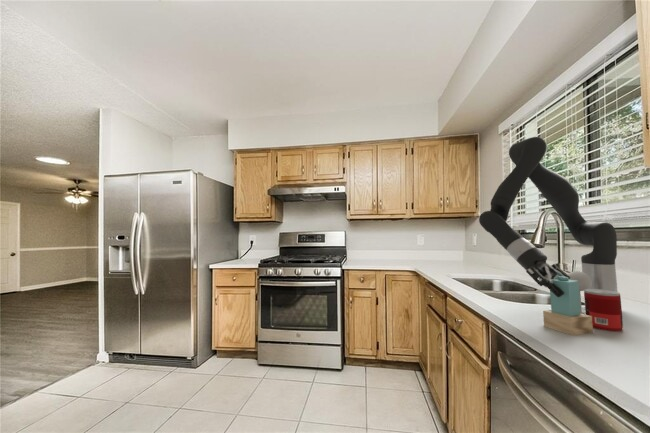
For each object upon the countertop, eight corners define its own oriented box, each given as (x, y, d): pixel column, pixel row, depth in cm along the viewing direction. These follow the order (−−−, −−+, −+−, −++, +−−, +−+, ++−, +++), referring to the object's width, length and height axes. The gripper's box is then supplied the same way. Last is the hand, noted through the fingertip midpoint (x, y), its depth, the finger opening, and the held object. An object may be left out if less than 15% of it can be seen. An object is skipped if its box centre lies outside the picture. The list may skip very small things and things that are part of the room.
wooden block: (563, 324, 87) (562, 309, 87) (593, 333, 79) (591, 316, 80) (544, 326, 85) (543, 310, 86) (571, 336, 78) (570, 318, 78)
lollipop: (575, 309, 103) (572, 269, 104) (599, 314, 97) (595, 272, 98) (563, 310, 101) (560, 270, 102) (586, 316, 94) (583, 273, 95)
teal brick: (561, 310, 86) (558, 275, 87) (580, 314, 81) (577, 277, 82) (551, 312, 84) (548, 276, 85) (570, 316, 79) (568, 278, 80)
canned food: (631, 332, 79) (627, 294, 80) (598, 330, 81) (596, 293, 81) (609, 323, 87) (606, 289, 87) (580, 322, 88) (577, 288, 89)
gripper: (521, 247, 88) (566, 289, 77) (545, 246, 94) (591, 284, 83) (505, 262, 92) (546, 303, 81) (530, 260, 98) (571, 298, 87)
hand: (569, 294), depth 82 cm, fingers open, 8 cm apart
